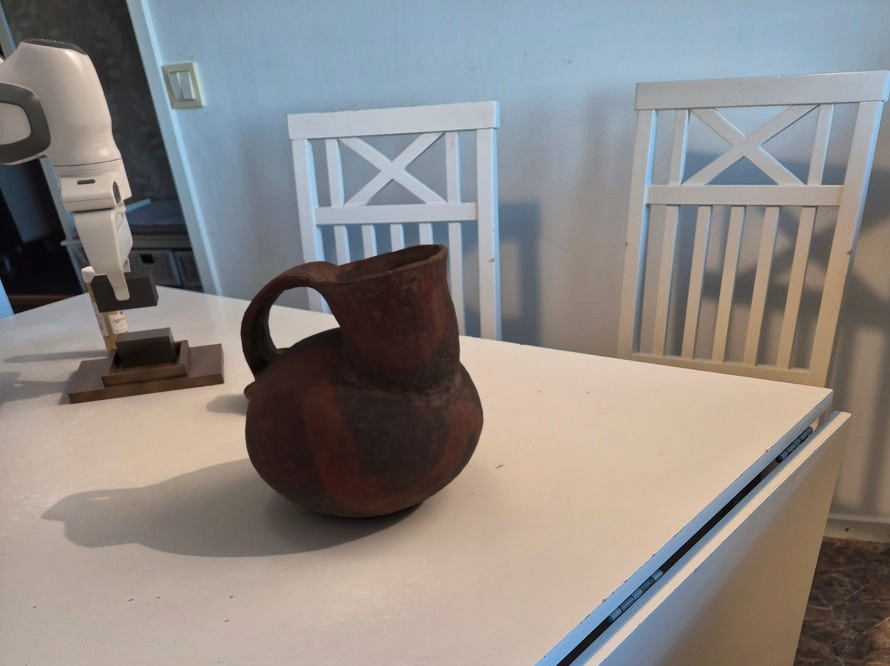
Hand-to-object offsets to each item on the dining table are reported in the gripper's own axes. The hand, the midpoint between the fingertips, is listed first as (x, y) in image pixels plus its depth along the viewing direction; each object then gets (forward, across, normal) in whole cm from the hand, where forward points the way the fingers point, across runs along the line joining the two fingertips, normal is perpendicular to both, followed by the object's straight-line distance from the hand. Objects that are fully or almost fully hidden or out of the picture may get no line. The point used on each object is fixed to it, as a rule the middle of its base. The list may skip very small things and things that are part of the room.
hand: (125, 293), depth 121 cm
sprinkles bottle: (+13, -19, -6) cm, 23 cm away
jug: (+13, +50, +27) cm, 59 cm away
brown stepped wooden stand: (+13, -3, 0) cm, 13 cm away
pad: (+2, 0, 0) cm, 2 cm away
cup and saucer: (+13, +16, +20) cm, 29 cm away
